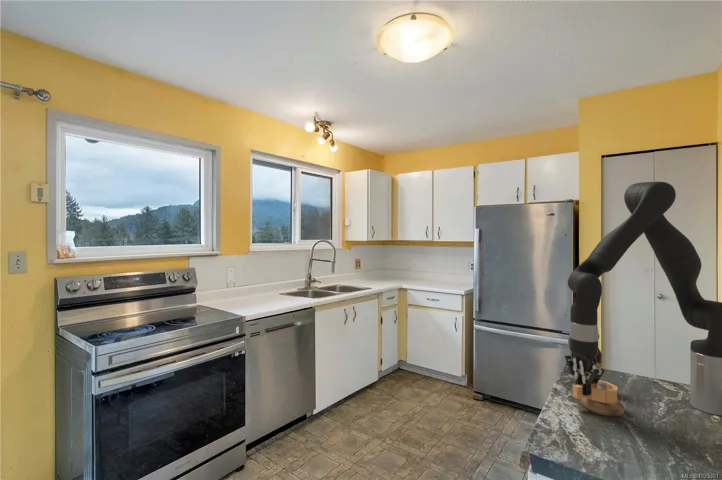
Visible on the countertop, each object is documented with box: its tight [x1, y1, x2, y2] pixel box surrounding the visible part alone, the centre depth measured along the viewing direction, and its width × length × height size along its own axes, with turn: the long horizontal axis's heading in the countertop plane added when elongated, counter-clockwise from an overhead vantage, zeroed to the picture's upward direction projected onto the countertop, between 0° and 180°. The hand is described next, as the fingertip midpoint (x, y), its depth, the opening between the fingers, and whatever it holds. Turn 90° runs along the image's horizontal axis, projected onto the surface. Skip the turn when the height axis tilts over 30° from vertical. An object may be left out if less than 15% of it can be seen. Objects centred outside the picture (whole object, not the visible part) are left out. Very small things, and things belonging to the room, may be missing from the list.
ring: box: [572, 379, 618, 403], centre depth 109 cm, size 13×9×4 cm
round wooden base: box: [580, 380, 625, 417], centre depth 109 cm, size 11×11×8 cm
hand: (583, 393), depth 108 cm, fingers closed on ring
